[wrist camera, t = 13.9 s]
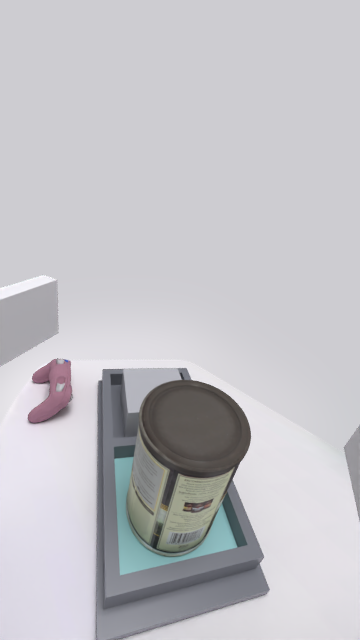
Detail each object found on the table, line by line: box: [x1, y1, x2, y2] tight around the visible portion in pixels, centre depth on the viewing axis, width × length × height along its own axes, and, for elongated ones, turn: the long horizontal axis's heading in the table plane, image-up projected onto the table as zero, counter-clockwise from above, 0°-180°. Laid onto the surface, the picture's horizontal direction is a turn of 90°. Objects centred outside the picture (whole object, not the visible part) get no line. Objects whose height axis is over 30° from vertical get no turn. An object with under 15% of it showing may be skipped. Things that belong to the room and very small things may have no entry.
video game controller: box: [28, 358, 73, 423], centre depth 42 cm, size 10×5×7 cm, turn 22°
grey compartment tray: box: [96, 368, 270, 640], centre depth 36 cm, size 16×30×6 cm, turn 15°
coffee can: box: [126, 380, 251, 557], centre depth 28 cm, size 10×10×14 cm
